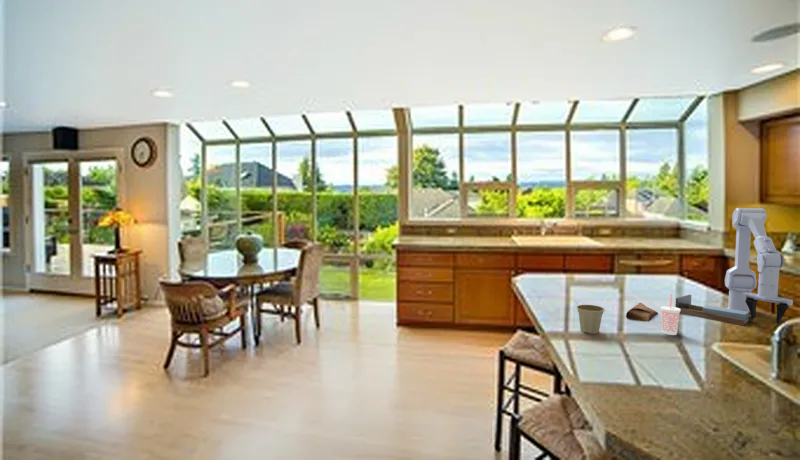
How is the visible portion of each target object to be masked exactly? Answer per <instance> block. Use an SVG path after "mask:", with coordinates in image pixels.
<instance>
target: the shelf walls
mask: <svg viewBox="0 0 800 460" xmlns="http://www.w3.org/2000/svg"><path fill="white" fill-rule="evenodd" d="M703 307H704V306H702V305H695V304H691V305H690V307H689V309H686V308H681V307H680V309H681V311H680V313H681V314H685V315H690V316H695V317H700V318H704V319H709V320H710V319H711V320H715V321H719V322H724V323H729V324H733V325H738V326H743V327H744V326H745V325H746V323H745V320H742V319H737V318H732V317H727V316H722V315H717V314H712V313H707V312H702V311H703ZM680 313H679V314H680ZM754 321H755V318H754V319H752V318H751V315H749V318H748V322H752V323H753V322H754Z"/></svg>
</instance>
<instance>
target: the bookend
mask: <svg viewBox="0 0 800 460" xmlns="http://www.w3.org/2000/svg"><path fill="white" fill-rule="evenodd" d="M690 305H692V294H688V295H687V294H685V295H684V296H683V295H682V296H679V297H676V298H675V307H677V308H680V307H681V308H686V309H689V307H690Z"/></svg>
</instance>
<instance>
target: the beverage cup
mask: <svg viewBox="0 0 800 460" xmlns="http://www.w3.org/2000/svg"><path fill="white" fill-rule="evenodd" d="M669 298H670V299H669V306H667V305H664V306H660V311H661V333H662V334H664V335H670V336H676V335H677V334H678V327H679V322H680V321H679V319H680V311H681V309H680V308H677V307H676V306H673V305H672V302H673V293H670V297H669Z"/></svg>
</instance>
